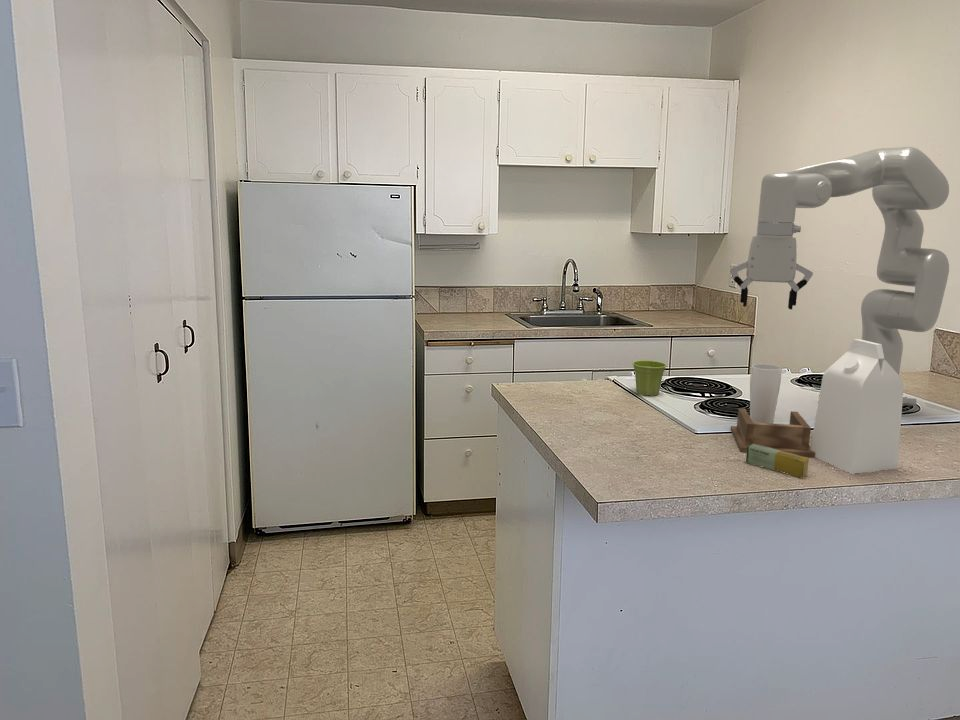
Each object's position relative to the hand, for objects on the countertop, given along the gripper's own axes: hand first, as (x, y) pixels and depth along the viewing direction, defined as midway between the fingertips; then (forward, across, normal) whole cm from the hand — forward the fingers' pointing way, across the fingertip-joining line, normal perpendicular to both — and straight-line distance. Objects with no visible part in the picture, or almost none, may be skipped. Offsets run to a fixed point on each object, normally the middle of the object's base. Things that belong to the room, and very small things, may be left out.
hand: (767, 307), depth 164 cm
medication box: (+30, -4, +24) cm, 39 cm away
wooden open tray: (+30, -3, +7) cm, 31 cm away
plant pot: (+30, +28, -27) cm, 49 cm away
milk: (+30, -19, +14) cm, 38 cm away
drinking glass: (+30, -2, -5) cm, 30 cm away
